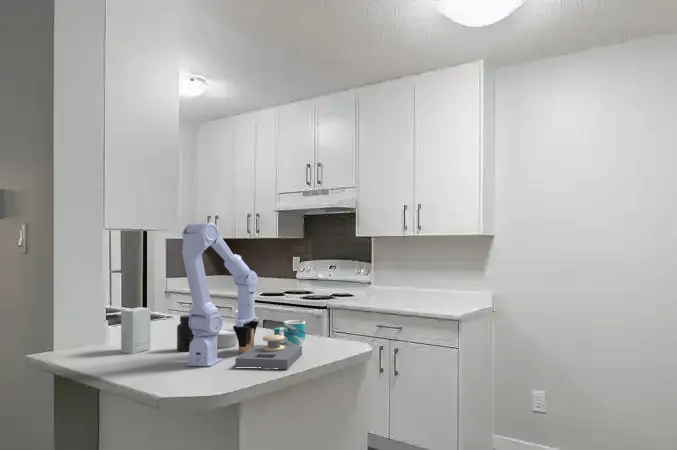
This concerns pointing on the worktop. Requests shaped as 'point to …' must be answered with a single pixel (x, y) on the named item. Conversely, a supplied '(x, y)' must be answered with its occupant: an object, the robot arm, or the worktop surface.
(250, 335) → the wooden block
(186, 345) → the supplement bottle
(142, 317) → the skincare box
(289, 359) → the notched board
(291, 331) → the mug
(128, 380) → the worktop surface
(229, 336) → the ramekin
